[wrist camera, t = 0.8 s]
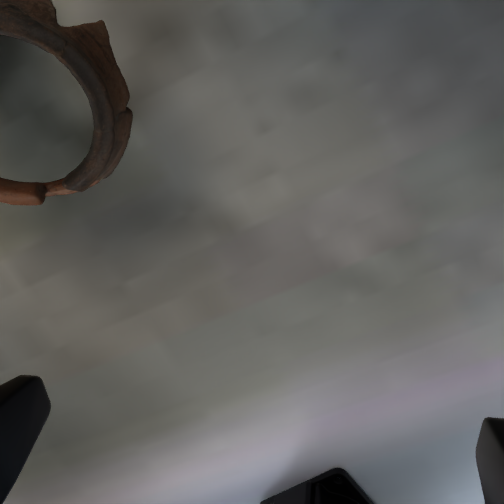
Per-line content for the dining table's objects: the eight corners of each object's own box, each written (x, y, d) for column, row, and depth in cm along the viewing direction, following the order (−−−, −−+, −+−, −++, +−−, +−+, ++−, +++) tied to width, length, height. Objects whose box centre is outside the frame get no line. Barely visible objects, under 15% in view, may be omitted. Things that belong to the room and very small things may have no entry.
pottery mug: (64, -82, 18) (26, -91, 12) (168, 112, 24) (180, 176, 18) (-167, 38, 19) (-322, 92, 12) (-11, 197, 25) (-61, 289, 18)
